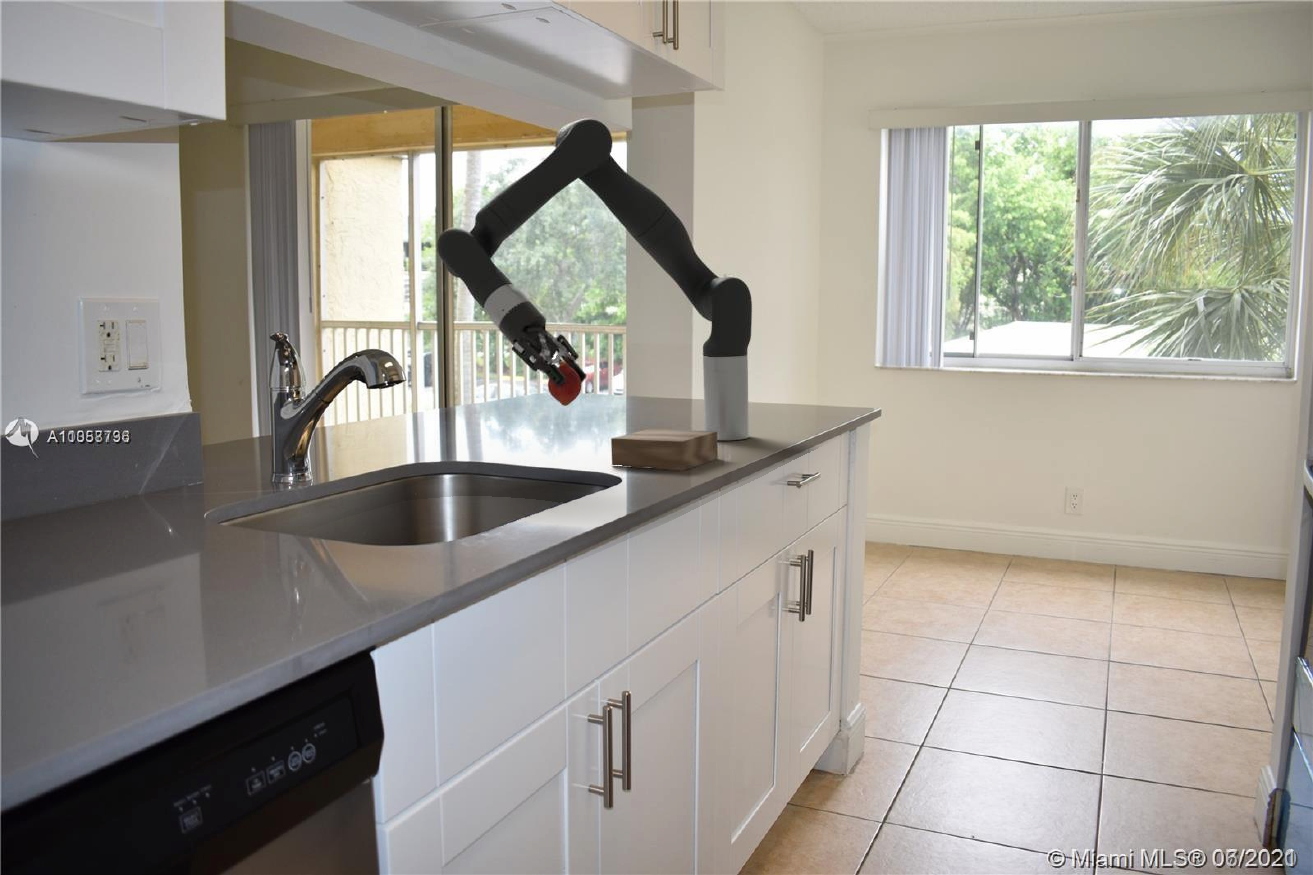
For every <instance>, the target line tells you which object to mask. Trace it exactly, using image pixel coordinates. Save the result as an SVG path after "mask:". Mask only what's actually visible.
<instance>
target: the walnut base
mask: <svg viewBox="0 0 1313 875" xmlns="http://www.w3.org/2000/svg"><path fill="white" fill-rule="evenodd" d="M610 446H611V466H612V465H622V466H631V467H651V468H659V469H658V470H662V469H667V470H666V471H681V472H682V471H686V470H689V469H692V468H694V467H697V466H701V465H703V464H706V463H709V462H712V461H715V460H719V458H718V452H719V450H718V440H717V431H705V430H689V429H665V428H664V429H663V428H662V429H661V428H647V429H643V430H639V431H636V432H632V433H627V434H623V435H619V436H616V437H612V438H610Z"/></svg>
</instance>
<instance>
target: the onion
mask: <svg viewBox="0 0 1313 875" xmlns="http://www.w3.org/2000/svg"><path fill="white" fill-rule="evenodd" d="M559 364H560V365H559ZM559 364H558V365H559V366H557V367H558V368H559V370H560V371H561V372H562V373H563V374H564V375H565V376H566V378H567V380H566V382H565V383H564V384H563V386H562V387H557V386H556V385H555V384H554V383H553V381H552V380H551V379H550V378H549V377H548V382H547V389H548V392H549V393H550V396H552V398H554V399H555V400H556V401H557V402H558V403H559V404H561V405H562V406H565V407H567V406H569V405H570V404H571V403H572V402H573V401H575V400H576V399H577V397H578V396H579V395H580V394H581V391H582V383H581V380H580V377H579V375H578V374H577V372H576V371H575V370H574V369H573V368H571V367H570V366H568V365H567V364H566V362H564V360H562V361H560V362H559Z"/></svg>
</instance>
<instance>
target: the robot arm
mask: <svg viewBox="0 0 1313 875" xmlns="http://www.w3.org/2000/svg"><path fill="white" fill-rule="evenodd" d="M554 143H555V144H554V147H555V148H554V150H553V151H552V152H551V153H550V154H549V155H548V156H547V157H546V158H545V159H543V160H542V161H541V162H540V163H539V164H538V165H536V166H535V167H534V168H532V169H531V170H530V171H528V172H527V173H525V174H523V175H522V176H521V177H519V178H518V179H516V180H515V181H514V182H512V183H511V184H509V185H508V186H506V188H504V189H503V190H501V192H499V193H498V194H497V195H496V196H494V197H493V198H492V199H491V200H490V201H489V202H487V203H486V204H485V205H484V206H483V207H482V208H481V209H480V210H478V211H477V213H476V215H475V217H474V218H475V220H474V221H475V222H474V226H473V228H472V229H471V230H470V231H468V230H466V229H465V228H463V227H461V228H460V227H450V228H449V227H448V228H447V229H445V230H443V231H442V233H440V235H439V237H438V239H437V243H436V247H437V248H436V249H437V253H438V255H439V257H440V259H441V261H442V263H443V264H444V266H445V268H446V270H447V271H448V272H449V274H450V275H451V276H453V277H456V278H457V279H460V280H461V281H462V282H463V283H464V285H465V287H466V288H467V290H468V292H469V293H470V295H471V296H472V298H474V300H475V301H476V303H478V305H479V306H480V307H481V308H482V309H483V310H484V312H485V314H486V315H487V316H488V318H489V319H490V320H491V322H492V323H493V324H494V325H495V327H496V328H497V329H498V330H499V331H500V332H501V333H502V334H503V336H504V337H505V338H506V339H507V341H509V342H510V344H511V345H512V347H511V350H512V352H513V353H515V355H517V357H519V359H521V360H522V361H523V362H524V363H525V364H526V365H527V366H528V367H529V368H530V369H531V371H532V370H533V371H534V372H538V370H539V371H540V372H541V373H542V374H545V375H547V376H548V379H549V378H550V379H551V380H552V381H553V383H554V384H555V385H556V386H557V387H562V386H563V384H564V383H565V382H566V380H567V378H566V376H565V375H564V374H563V373H562V372H561V371H560V370H559V368H558V367H559V366H560V364H559V362H560V361H564V362H566V364H567V365H568V366H570V367H571V368H573V369H574V370H575V371H576V372H577V374H578V375H579V377H580V380H581V384H582V383H583V382H584V381H585V380H586V378H587V374H586V373H585V371H584V370H583V369H582V368H581V367H580V366H579V364H577V363H576V361H577V359H579V355H578V353H577V352H576V350H575V349H574V348H573V346H572V344H570V342H569V341H568V339H567V338H566V336H564V335H563V334H559V335H558V336H557V337H555V336H553V334H551V333H550V332H549V331H547V329H546V326H547V325H546V324H547V319H546V318H545V316H544V315H543V314H542V312H540V311H539V310H538V309H537V307H536V306H535V305H534V304H533V303H532V302H531V301H530V299H529V298H528V297H527V296H526V295H525V294H524V293H523V292H522V291H521V290H520V289H518V288H517V286H515V285H514V284H513V283H512V281H511V280H510V279H509V278H508V277H507V276H506V274H504V272H503V271H502V270H501V269H499V267H497V265H495V263H494V262H493V261H492V258H493V256H494V255H495V253H496V252H497V251H498V250H499V248H500V246H501V245H502V244H503V242H504V241H505V240H506V239H508V238H509V237H510V236H511V235H513V234H514V233H515V232H516V231H517V230H519V228H520V227H521V226H523V225H524V224H525V223H526V222H527V221H528V220H529V219H530V218H532V216H534V215H535V214H536V213H537V212H538V211H539V210H541V209H542V207H544V206H545V205H546V204H547V203H548V202H549V201H550V200H552V198H554V197H555V196H556V195H558V194H559V193H560V192H561V191H562V190H564V189H565V188H566V187H567V186H569V185H570V184H572V183H573V182H574V181H576V180H578V179H579V180H580V181H581V182H582V183H584V184H585V186H587V187H588V188H589V189H590V190H591V191H592V192H593V193H594V194H595V195H596V196H597V197H598V198H600V200H601V201H602V203H604V205H605V206H606V207H607V209H608V210H609V211H610V212H611V214H612V215H614V217H615V218H616V219H617V220H618V222H619V223H621V225H622V226H623V227H624V228H625V229H626V231H627V232H628V233H629V234H630V235H631V237H632V238H633V239H634V240H635V241H636V242H637V243H638V244H639V245H640V246H641V248H642V249H643V250H644V251H646V253H648V254H649V256H650V257H651V258H652V259H653V260H654V261H655V262H656V263H657V264H658V266H659V267H661V269H662V270H663V271H664V272H665V273H667V275H668V276H670V278H671V279H672V280H673V281H674V282H675V284H677V286H678V287H679V289H681V291H682V293H683V294H684V295H685V296H686V297H687V299H688V301H689V302H690V303H691V305H692V306H693V307H694V309H695V310H696V311H697V313H698V314H699V315H700V316H701V317H702V318H703V319H705V320H707V321H709V322H710V323H711V328H710V329H711V330H710V334H709V336H708V338H707V340H706V341H705V342H704V343H703V345H702V363H703V364H702V365H703V366H702V368H703V369H702V370H703V405H704V406H703V408H704V409H703V412H704V420H703V421H704V431H717V441H738V440H745V439H748V438H750V437H749V436H750V429H749V427H750V426H749V423H750V422H749V421H750V420H749V419H750V417H749V370H748V369H749V368H748V367H749V366H748V365H749V364H748V362H749V361H748V350H749V349H748V348H749V345H750V342H751V338H752V321H753V320H752V318H753V302H752V295H751V291H750V288H749V287H748V285H747V284H746V283H745V282H744V281H743V280H742V279H740V278H739V277H734V276H731V277H728V276H727V277H720V276H718V275H716V274H715V273H714V271H712V270H711V269H710V268H709V267H708V266H707V265H706V264H705V263H704V261H703V260H702V259H701V258H700V257H699V255H698V254H697V252H696V250H695V249H694V246H693V243H692V241H691V238H690V235H689V233H688V231H687V229H686V227H685V225H684V223H683V222H682V220H681V219H680V218H679V216H677V214H675V212H674V211H673V209H671V207H670V206H668V204H667V203H666V202H665V201H664V200H663V199H662V197H660V196H658V195H657V194H656V193H655V192H654V191H653V190H652V189H650V188H648V187H647V186H646V185H644V184H643V183H641V182H640V181H638V180H637V179H636V178H634V177H632V176H631V175H630V174H629V173H627V172H626V171H625V170H624V169H623V168H622V167H621V166H620V165H619V164H618V163H617V161H616V160H615V159H614V157H613V156H612V155H611V153H612V149H613V137H612V134H611V131H610V129H609V128H608V127H607V126H606V125H605V124H604V123H603V122H601V121H599V120H597V119H594V118H581V119H578V120H576V121H572V122H570V123H568V124H565V125H564V126H563V127H562V128H560V130H558V132H557V134H556V137H555V142H554ZM556 353H557V354H556ZM555 354H556V356H555ZM556 364H558V365H559V366H557V365H556Z"/></svg>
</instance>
